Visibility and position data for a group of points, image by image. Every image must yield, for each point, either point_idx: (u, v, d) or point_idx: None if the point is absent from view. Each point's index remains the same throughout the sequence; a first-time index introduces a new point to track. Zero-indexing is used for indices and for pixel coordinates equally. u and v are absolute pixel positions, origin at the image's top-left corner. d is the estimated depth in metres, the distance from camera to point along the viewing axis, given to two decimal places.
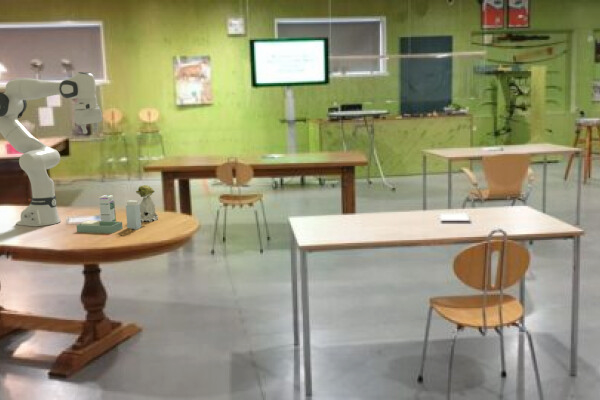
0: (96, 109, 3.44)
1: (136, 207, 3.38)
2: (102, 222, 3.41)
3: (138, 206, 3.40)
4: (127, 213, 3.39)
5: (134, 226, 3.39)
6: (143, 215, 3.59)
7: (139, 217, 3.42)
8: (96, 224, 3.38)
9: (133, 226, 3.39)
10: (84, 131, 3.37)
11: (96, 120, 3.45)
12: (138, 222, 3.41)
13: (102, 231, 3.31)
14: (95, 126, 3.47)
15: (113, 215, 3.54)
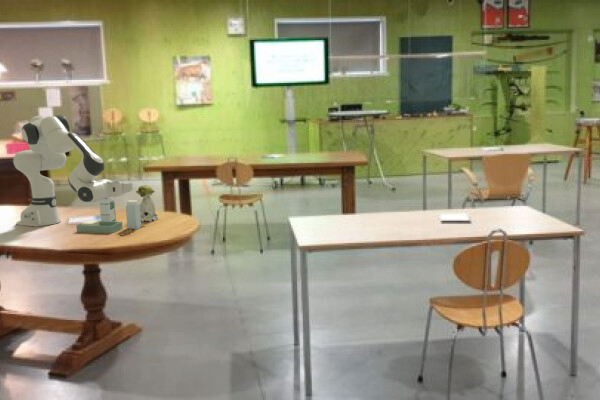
0: None
1: (136, 207, 3.38)
2: (102, 222, 3.41)
3: (138, 206, 3.40)
4: (127, 213, 3.39)
5: (134, 226, 3.39)
6: (143, 215, 3.59)
7: (139, 217, 3.42)
8: (96, 224, 3.38)
9: (133, 226, 3.39)
10: None
11: None
12: (138, 222, 3.41)
13: (102, 231, 3.31)
14: None
15: (113, 215, 3.54)
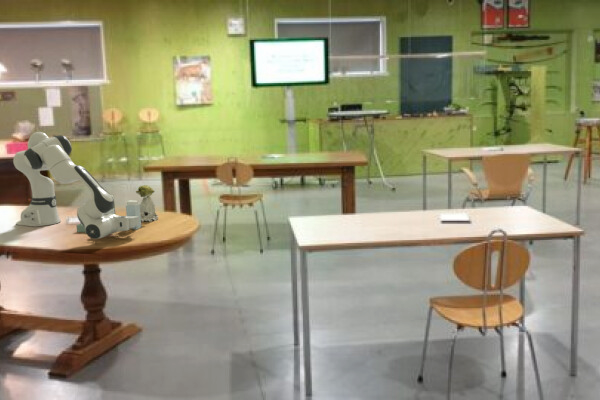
0: None
1: (136, 207, 3.38)
2: None
3: (138, 206, 3.40)
4: (127, 213, 3.39)
5: (134, 226, 3.39)
6: (143, 215, 3.59)
7: (139, 217, 3.42)
8: None
9: None
10: None
11: None
12: None
13: None
14: None
15: None
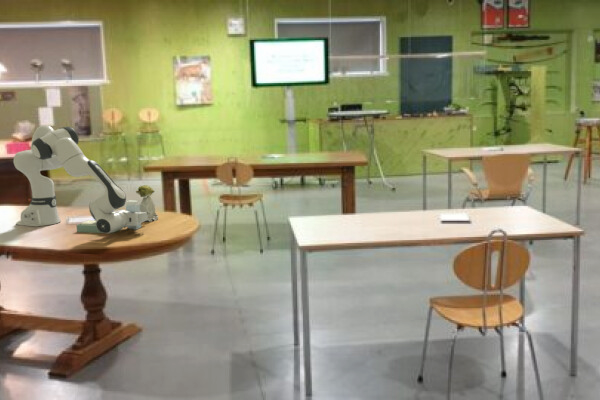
0: None
1: (136, 207, 3.38)
2: None
3: (138, 206, 3.40)
4: None
5: (134, 226, 3.39)
6: None
7: None
8: None
9: (133, 226, 3.39)
10: None
11: None
12: None
13: None
14: None
15: None
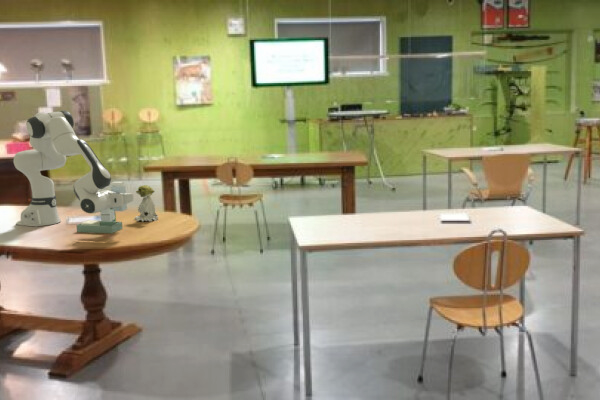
0: None
1: (121, 189, 3.33)
2: (102, 222, 3.41)
3: (124, 187, 3.36)
4: None
5: (120, 208, 3.34)
6: (143, 215, 3.59)
7: None
8: (96, 224, 3.38)
9: (118, 208, 3.34)
10: None
11: None
12: None
13: (102, 231, 3.31)
14: None
15: (113, 215, 3.54)
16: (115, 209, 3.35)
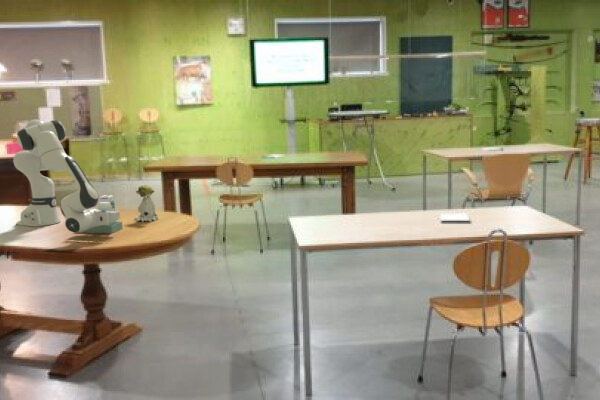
0: None
1: (108, 209, 3.32)
2: None
3: (110, 208, 3.34)
4: None
5: None
6: (143, 215, 3.59)
7: None
8: None
9: None
10: None
11: None
12: (110, 224, 3.35)
13: (102, 231, 3.31)
14: None
15: None
16: None
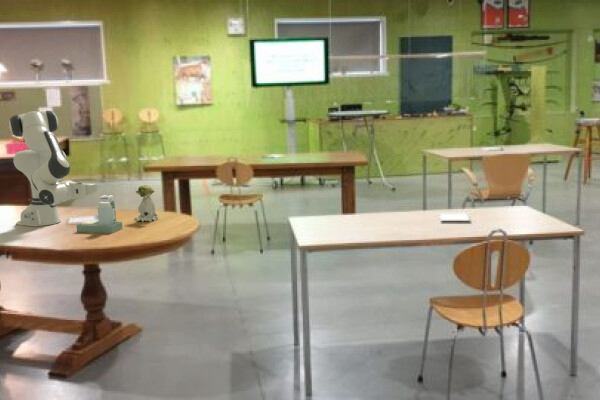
0: None
1: (108, 209, 3.32)
2: None
3: (110, 208, 3.34)
4: (99, 215, 3.33)
5: None
6: (143, 215, 3.59)
7: (112, 219, 3.36)
8: (96, 224, 3.38)
9: None
10: None
11: None
12: (110, 224, 3.35)
13: (102, 231, 3.31)
14: None
15: (113, 215, 3.54)
16: None
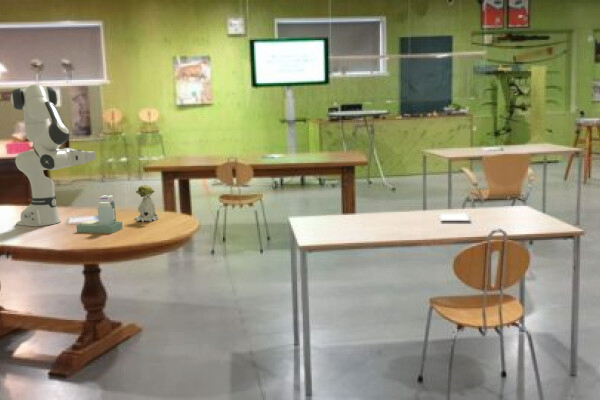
0: None
1: (108, 209, 3.32)
2: None
3: (110, 208, 3.34)
4: (99, 215, 3.33)
5: None
6: (143, 215, 3.59)
7: (112, 219, 3.36)
8: (96, 224, 3.38)
9: None
10: None
11: None
12: (110, 224, 3.35)
13: (102, 231, 3.31)
14: None
15: (113, 215, 3.54)
16: None
